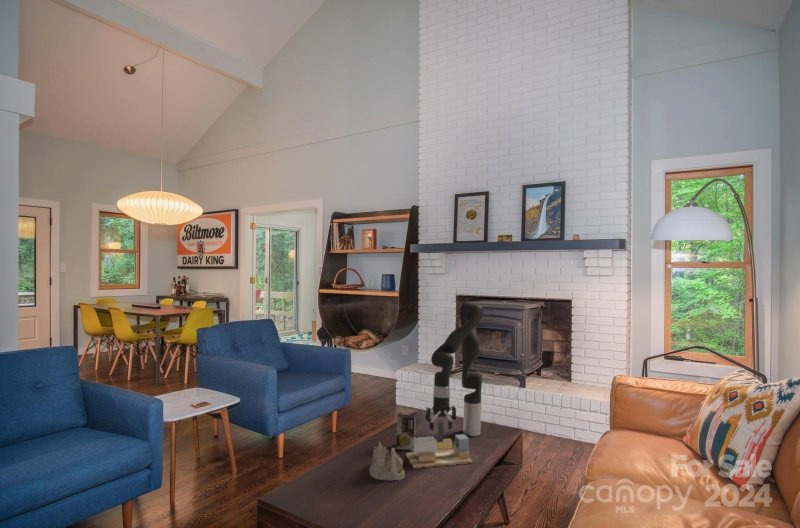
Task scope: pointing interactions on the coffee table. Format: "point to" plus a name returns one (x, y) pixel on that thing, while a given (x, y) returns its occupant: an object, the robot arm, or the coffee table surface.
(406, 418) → the coffee box
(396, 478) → the ceramic cottage
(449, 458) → the birch board
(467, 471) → the coffee table surface
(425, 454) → the grey and tan block
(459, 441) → the slate-blue socket
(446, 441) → the multicoloured piece
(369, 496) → the coffee table surface
